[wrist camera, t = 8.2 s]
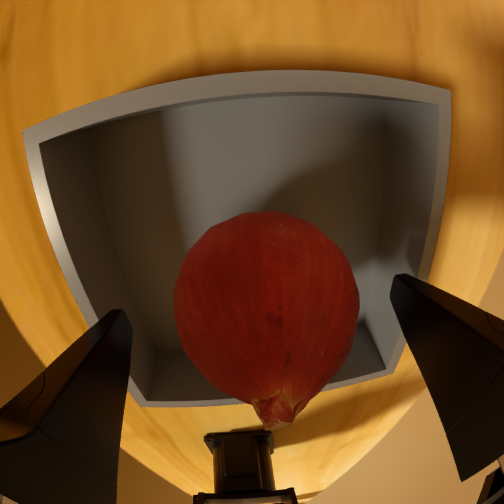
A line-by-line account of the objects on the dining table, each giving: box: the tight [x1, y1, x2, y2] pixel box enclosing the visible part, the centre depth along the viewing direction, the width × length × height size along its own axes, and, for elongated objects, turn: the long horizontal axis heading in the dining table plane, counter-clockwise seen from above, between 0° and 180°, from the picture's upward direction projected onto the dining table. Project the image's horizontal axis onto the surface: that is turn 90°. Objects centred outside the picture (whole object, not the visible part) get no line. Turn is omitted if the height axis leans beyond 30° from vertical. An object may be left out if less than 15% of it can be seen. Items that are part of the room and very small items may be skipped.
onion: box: [173, 211, 360, 431], centre depth 9 cm, size 6×6×8 cm
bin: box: [22, 70, 451, 407], centre depth 11 cm, size 13×13×4 cm
